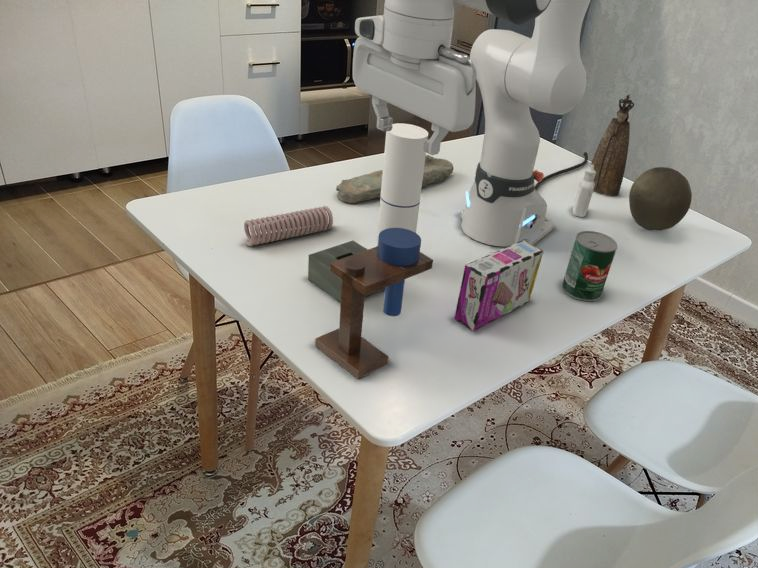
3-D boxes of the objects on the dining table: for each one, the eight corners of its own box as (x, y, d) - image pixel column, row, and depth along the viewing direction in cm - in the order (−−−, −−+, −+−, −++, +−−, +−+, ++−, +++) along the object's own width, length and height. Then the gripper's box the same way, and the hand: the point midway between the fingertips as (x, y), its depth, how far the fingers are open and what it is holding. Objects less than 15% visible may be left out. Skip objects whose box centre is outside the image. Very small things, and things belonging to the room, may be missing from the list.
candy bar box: (487, 278, 104) (545, 249, 115) (463, 264, 106) (522, 237, 117) (474, 334, 111) (530, 302, 122) (452, 320, 113) (509, 289, 124)
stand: (384, 315, 111) (393, 228, 101) (426, 343, 106) (440, 256, 97) (314, 346, 101) (317, 253, 92) (357, 379, 96) (365, 285, 87)
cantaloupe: (620, 211, 163) (638, 153, 154) (676, 224, 162) (698, 166, 153) (619, 235, 152) (639, 173, 143) (679, 249, 151) (703, 188, 142)
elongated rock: (324, 197, 146) (354, 217, 142) (325, 175, 142) (355, 195, 138) (433, 162, 168) (461, 178, 164) (436, 142, 164) (465, 158, 160)
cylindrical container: (383, 270, 122) (396, 139, 108) (369, 251, 127) (380, 123, 112) (418, 266, 126) (435, 138, 111) (403, 248, 130) (418, 123, 116)
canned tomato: (575, 275, 133) (589, 226, 126) (608, 292, 129) (625, 243, 123) (554, 288, 127) (568, 237, 121) (588, 306, 124) (604, 255, 117)
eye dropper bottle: (565, 211, 158) (578, 163, 151) (578, 206, 161) (591, 159, 154) (579, 218, 156) (593, 170, 149) (592, 213, 159) (606, 166, 152)
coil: (251, 229, 118) (338, 213, 128) (239, 216, 120) (325, 201, 131) (251, 251, 121) (335, 233, 131) (239, 237, 123) (323, 221, 134)
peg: (392, 296, 107) (400, 224, 99) (419, 314, 104) (430, 241, 96) (363, 308, 102) (369, 234, 95) (391, 327, 100) (399, 252, 92)
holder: (351, 264, 122) (353, 240, 119) (388, 287, 118) (390, 263, 115) (307, 279, 116) (308, 254, 113) (344, 305, 111) (346, 280, 108)
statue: (588, 193, 169) (616, 94, 155) (582, 181, 175) (609, 85, 161) (620, 197, 171) (651, 100, 156) (613, 185, 177) (642, 90, 162)
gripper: (494, 56, 82) (476, 163, 90) (381, 15, 91) (375, 114, 99) (460, 61, 77) (445, 172, 86) (346, 17, 87) (342, 121, 95)
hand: (407, 141), depth 93 cm, fingers open, 8 cm apart
